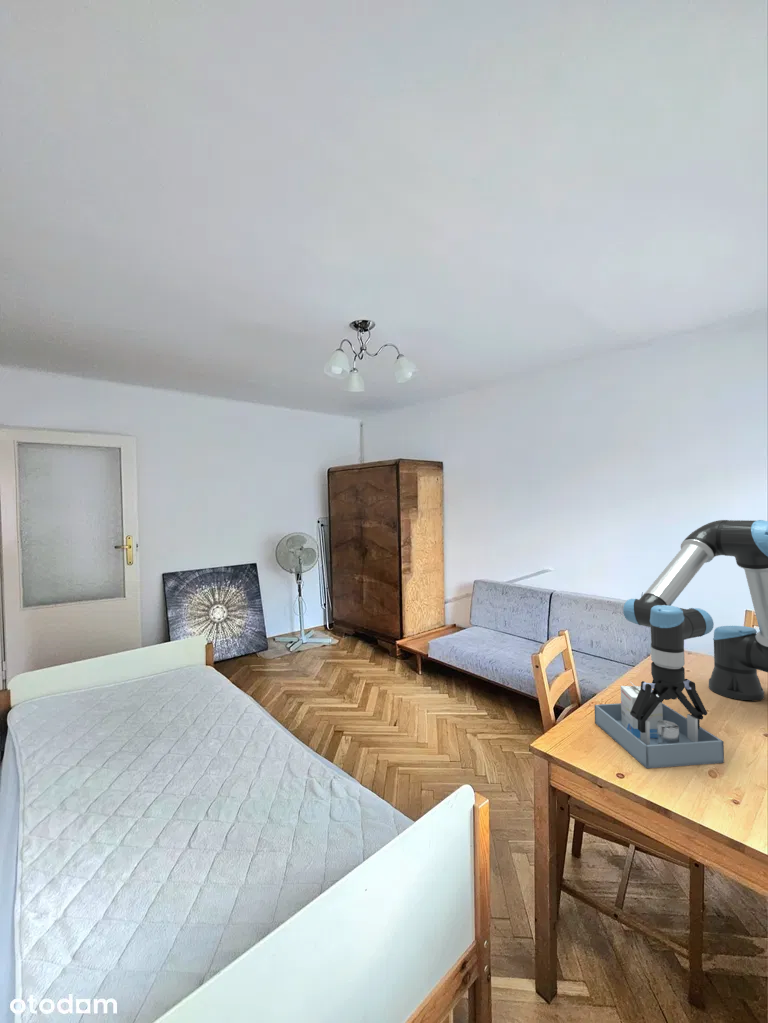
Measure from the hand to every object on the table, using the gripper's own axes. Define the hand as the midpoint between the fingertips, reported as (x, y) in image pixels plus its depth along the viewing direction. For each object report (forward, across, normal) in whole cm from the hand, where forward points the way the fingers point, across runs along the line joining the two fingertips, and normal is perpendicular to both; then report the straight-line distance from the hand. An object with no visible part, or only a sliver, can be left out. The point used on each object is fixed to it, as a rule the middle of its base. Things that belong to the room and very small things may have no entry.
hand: (669, 742), depth 115 cm
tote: (+3, 0, -6) cm, 7 cm away
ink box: (+3, 0, -10) cm, 11 cm away
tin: (+2, 0, 0) cm, 2 cm away
